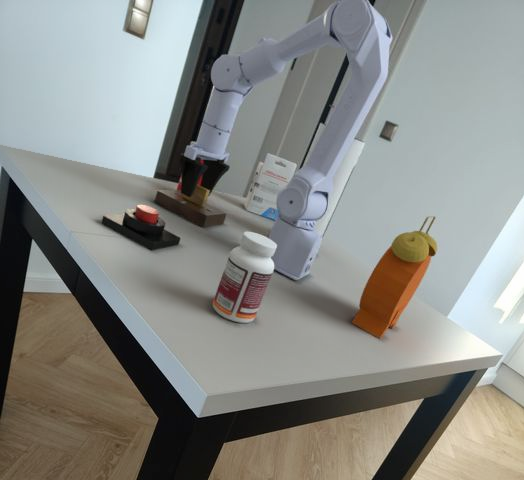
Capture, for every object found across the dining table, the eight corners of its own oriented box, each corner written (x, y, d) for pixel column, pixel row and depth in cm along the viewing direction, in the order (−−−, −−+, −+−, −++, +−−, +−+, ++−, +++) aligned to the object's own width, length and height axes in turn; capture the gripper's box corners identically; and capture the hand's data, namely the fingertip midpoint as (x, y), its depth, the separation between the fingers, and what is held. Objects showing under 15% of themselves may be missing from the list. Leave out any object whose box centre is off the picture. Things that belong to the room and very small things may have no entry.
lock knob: (204, 206, 105) (210, 189, 103) (201, 207, 103) (207, 189, 102) (184, 196, 106) (190, 179, 104) (181, 196, 104) (186, 179, 103)
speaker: (316, 260, 111) (370, 141, 100) (272, 243, 110) (321, 120, 99) (314, 248, 121) (363, 137, 110) (274, 231, 120) (319, 118, 108)
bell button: (160, 223, 84) (163, 213, 83) (147, 224, 80) (150, 214, 80) (142, 214, 84) (145, 204, 84) (129, 215, 81) (132, 204, 80)
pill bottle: (253, 311, 73) (281, 240, 69) (253, 329, 68) (285, 254, 63) (212, 297, 72) (238, 224, 67) (209, 314, 67) (238, 237, 62)
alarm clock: (368, 309, 95) (421, 208, 87) (397, 325, 93) (454, 223, 85) (345, 322, 84) (403, 207, 75) (378, 341, 82) (441, 225, 73)
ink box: (273, 215, 135) (294, 161, 128) (276, 221, 130) (298, 164, 124) (243, 205, 132) (263, 148, 126) (245, 210, 128) (266, 152, 122)
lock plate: (223, 224, 108) (227, 212, 107) (202, 227, 100) (206, 214, 99) (177, 200, 111) (181, 189, 110) (153, 202, 103) (157, 189, 102)
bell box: (178, 244, 86) (183, 228, 85) (151, 250, 79) (157, 232, 78) (131, 219, 88) (135, 203, 87) (101, 223, 81) (105, 205, 80)
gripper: (216, 122, 105) (196, 186, 111) (180, 114, 93) (159, 186, 98) (245, 136, 104) (223, 199, 110) (212, 129, 91) (189, 201, 97)
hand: (195, 194), depth 104 cm, fingers open, 7 cm apart
